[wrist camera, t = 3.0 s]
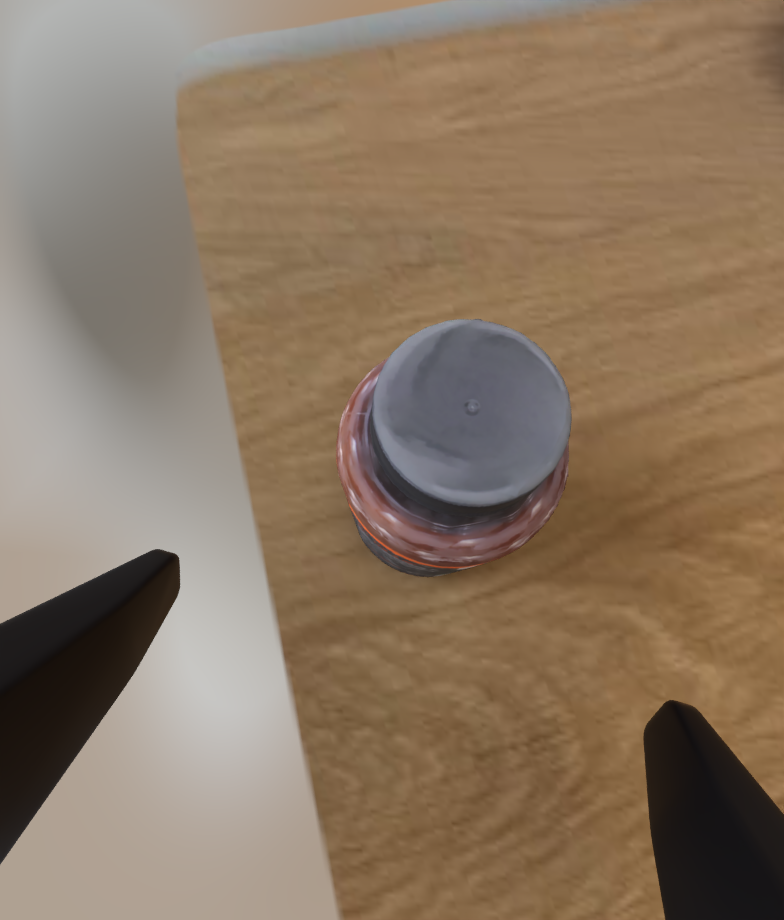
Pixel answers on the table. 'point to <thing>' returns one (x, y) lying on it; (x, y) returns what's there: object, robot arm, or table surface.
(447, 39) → the table surface
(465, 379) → the supplement bottle
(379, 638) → the table surface
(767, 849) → the robot arm
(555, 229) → the table surface
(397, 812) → the table surface
